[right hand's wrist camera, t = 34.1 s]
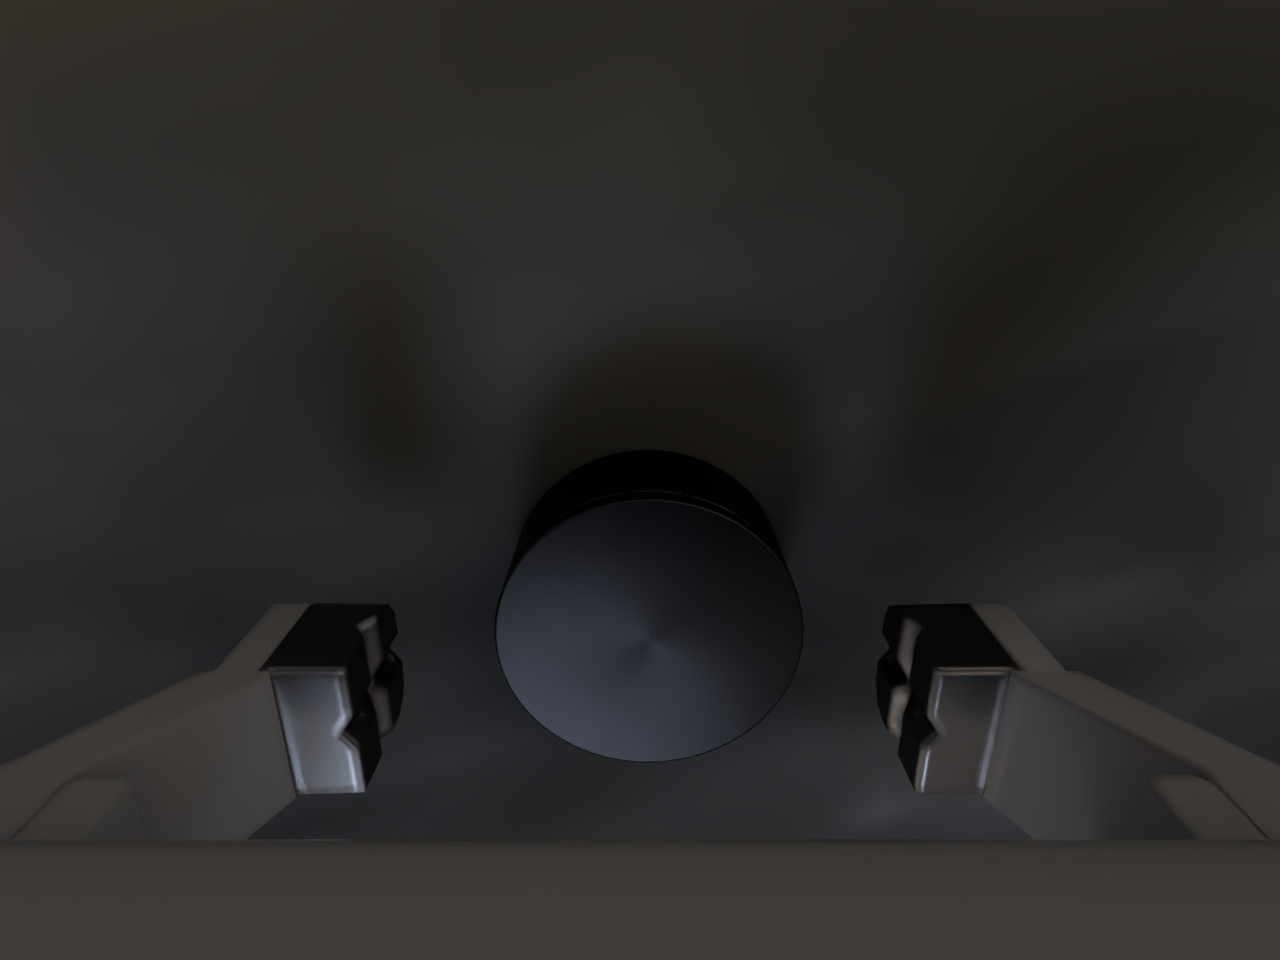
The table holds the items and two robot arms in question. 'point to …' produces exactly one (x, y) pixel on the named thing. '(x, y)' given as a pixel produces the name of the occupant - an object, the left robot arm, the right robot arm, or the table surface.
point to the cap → (648, 609)
